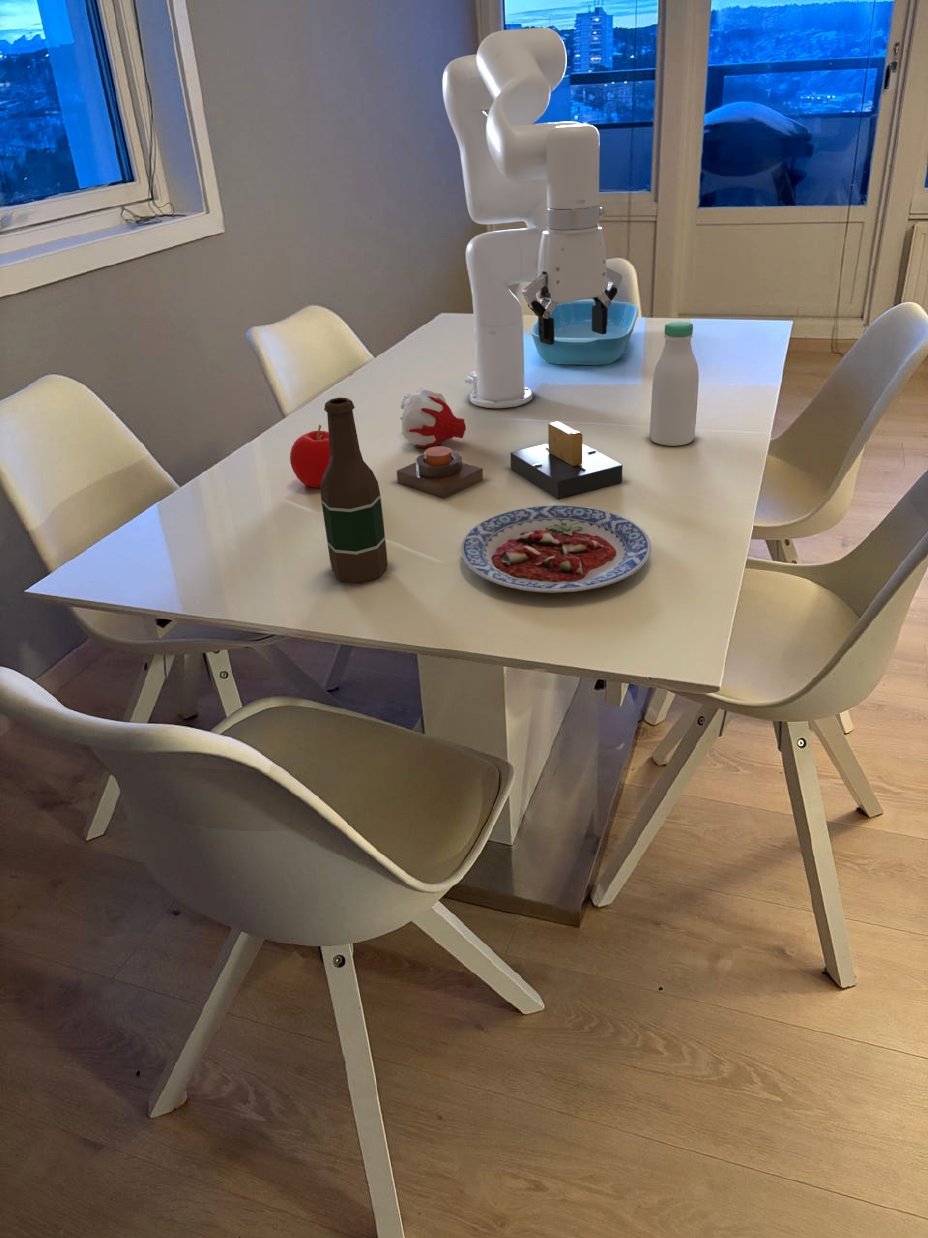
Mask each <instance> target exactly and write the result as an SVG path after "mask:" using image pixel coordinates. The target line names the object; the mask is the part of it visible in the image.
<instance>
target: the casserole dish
mask: <svg viewBox="0 0 928 1238" xmlns="http://www.w3.org/2000/svg"><path fill="white" fill-rule="evenodd" d="M592 305H595V302H594V301H593V300H592V298H590V299H584V300H578V301H573V302H567V303H558V304H557V306H556V308H555V309H554V311H553V313H552V314H551V316H550V317H551V318H553V319H554V343H553V345H548V344H545V343H542V342H541V341H540V338H539V334H538V319H537V320H536V321H535V323H534V324H533V325H532V327H531V329H530V334H531V336H532V339H533V343H534V345H535V348H536V351H537V354H538V355H539V357H540V358H541V359H542V360H543V361H545V362H546V363H548V364H552V365H569V366H574V365H575V366H576V365H579V366H602V365H609V364H612V363H614V362H615V361H617V360H618V359H619V358H621V357H622V355H623V354H624V353H625V351H626V349H627V347H628V345H629V342H630V340H631V337H632V334H633V331H634V328H635V324H636V321H637V319H638V315H639V307H638V306H637V304H634V303H631V302H626V301H618V300H612V301H611V306H610V307H608V318H607V333H606V334H603V335H602V334H599V333H596V332H593V331H592Z"/></svg>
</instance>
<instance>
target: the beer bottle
mask: <svg viewBox="0 0 928 1238" xmlns="http://www.w3.org/2000/svg"><path fill="white" fill-rule="evenodd" d="M355 408H356V407H355V405H354V402H353V400H352V399H350V398H348V397H334V398H331V399H329V400H327V401H326V402H325V403H324V409H323V411H325V412H326V414H327V428H328V429H327V430H328V431H327V432H329V445H330V461H329V465H328V467H327V469H326V471H325V472H324V474H323V477H322V482H321V486H320V488H319V489H320V500H321V501H320V502H321V508H322V516H323V522H324V529H325V533H326V534H325V535H326V542H327V550H328V556H329V562H330V567H331V571H332V572H333V574H334V575H335V576H336V577H337V578H338V579H339V580H340V582H345V583H353V584H354V583H355V584H362V583H366V582H369V581H373V580H376V579H379V578H380V577H381V576H382V575H383V574H384V572H385V571H386V570H387V568H388V551H387V543H386V542H387V541H386V534H385V525H384V524H385V523H384V516H383V515H384V514H383V507H382V506H383V505H382V498H381V491H380V486H379V485H380V484H379V481H378V479H377V477H376V475H375V473H374V471H373V470H372V469H371V467H369V465H368V464H367V463H366V462H365V461H364V459H363V456H362V452H361V449H360V448H361V447H360V444H359V438H358V432H357V427H356V422H355V417H354V416H355V415H354V412H353V411H354V410H355Z"/></svg>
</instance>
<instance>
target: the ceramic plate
mask: <svg viewBox="0 0 928 1238" xmlns="http://www.w3.org/2000/svg"><path fill="white" fill-rule="evenodd" d="M651 553H652V542H651V539H650V537H649V535H648V534H647V533H646V531H645V530H644V529H643V528H642V527H640V525H638V524H636V522H634V521H632V520H630V519H629V518H626V517H623V516H622V515H619V514H616V513H613V512H610V511H608V510H604V509H599V508H594V507H590V506H589V507H588V506H578V505H567V504H555V505H554V504H550V505H535V506H529V507H522V508H518V509H513V510H509V511H506V512H502V513H499V514H496V515H494V516H491V517H490V518H487V519H485V520H483V521H481V522H480V523H478V524H476V525H475V526H474V527H473V528H471V529H470V530H469V531H468V532H467V534H466V535H465V536H464V537H463V540H462V541H461V545H460V554H461V557H462V560H463V562H464V564H465V565H466V566H467V567H468V569H470V570H471V571H472V572H473V573H475V574H476V575H478V576H479V577H481V578H483V579H484V580H487V581H489V582H491V583H494V584H497V585H499V586H502V587H506V588H510V589H515V590H520V591H525V592H526V591H527V592H533V593H534V592H535V593H548V594H549V593H551V594H552V593H574V592H576V593H577V592H582V591H588V590H593V589H598V588H602V587H606V586H608V585H612V584H615V583H617V582H620V581H622V580H624V579H626V578H628V577H630V576H632V575H634V574H635V573H636V572H638V571H639V570H640V569H642V567H644V566H645V564H646V563H647V562H648V560H649V558H650V555H651Z"/></svg>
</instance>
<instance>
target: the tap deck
mask: <svg viewBox="0 0 928 1238" xmlns="http://www.w3.org/2000/svg"><path fill="white" fill-rule="evenodd" d="M509 453H510V454H509V455H510V470H512V471H513V472H515V473H516V474H518V475H519V476H521V477H523V478H524V479H526V480H527V481H529V482H530V483H532V484H534V485H535V486H536V487H538V488H540V489H541V490H542V491H544V492H546V493H547V494H549V495H551V496H553V497H554V498H555V499H557V500H562V499H564V498H569V497H572V496H576V495H579V494H583V493H587V492H591V491H594V490H598V489H603V488H605V487H609V486H610V487H611V486H614V485H617V484H621V483H623V464H622V463H620V462H618V461H616V460H614V459H612V458H611V457H609V456H607V455H605V454H603V453H602V452H600V451H597V450H596V449H594V448H592V447H590V446H588V445H586V444H585V443H583V442H582V464H580V465H576V466H572V465H570V464H568V463H566V462H565V461H563V460H561V459H560V458H558V457H556V456H554V455H553V454H551V453H549V446H548V442H547V443H543V444H539V445H535V446H531V447H527V448H522V449H518V450H514V451H510V452H509Z"/></svg>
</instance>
